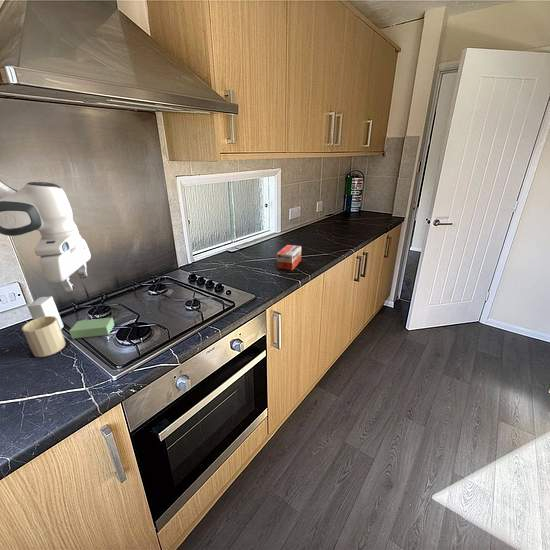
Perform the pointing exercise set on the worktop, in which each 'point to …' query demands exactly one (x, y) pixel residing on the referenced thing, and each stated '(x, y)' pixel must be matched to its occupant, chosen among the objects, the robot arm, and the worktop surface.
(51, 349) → the cup
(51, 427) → the worktop surface
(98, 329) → the green flat block
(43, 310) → the cosmetic box
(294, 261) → the medicine box
